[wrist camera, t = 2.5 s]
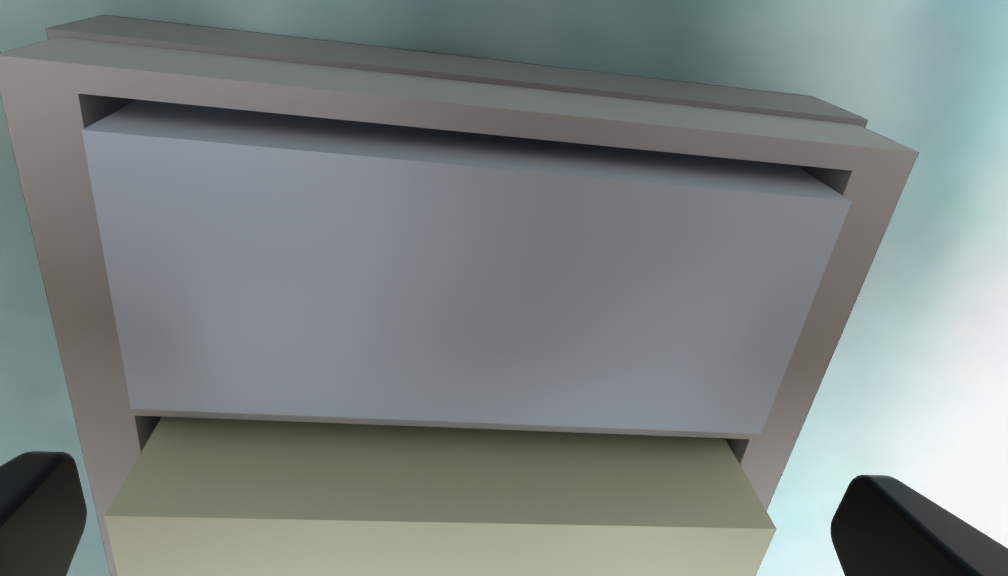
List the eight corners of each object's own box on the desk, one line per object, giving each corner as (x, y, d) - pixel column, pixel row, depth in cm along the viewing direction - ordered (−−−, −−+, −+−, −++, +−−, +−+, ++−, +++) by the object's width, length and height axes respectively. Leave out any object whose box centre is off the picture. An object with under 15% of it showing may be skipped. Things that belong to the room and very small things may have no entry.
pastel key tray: (210, 730, 22) (170, 868, 19) (104, 15, 12) (-27, 45, 9) (603, 722, 24) (630, 846, 21) (813, 96, 14) (932, 147, 10)
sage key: (188, 581, 14) (143, 694, 12) (162, 415, 12) (104, 515, 10) (670, 585, 16) (706, 686, 14) (724, 437, 14) (776, 528, 11)
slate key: (181, 331, 13) (131, 408, 11) (151, 92, 11) (81, 130, 9) (713, 360, 14) (761, 434, 12) (780, 155, 12) (851, 201, 10)
